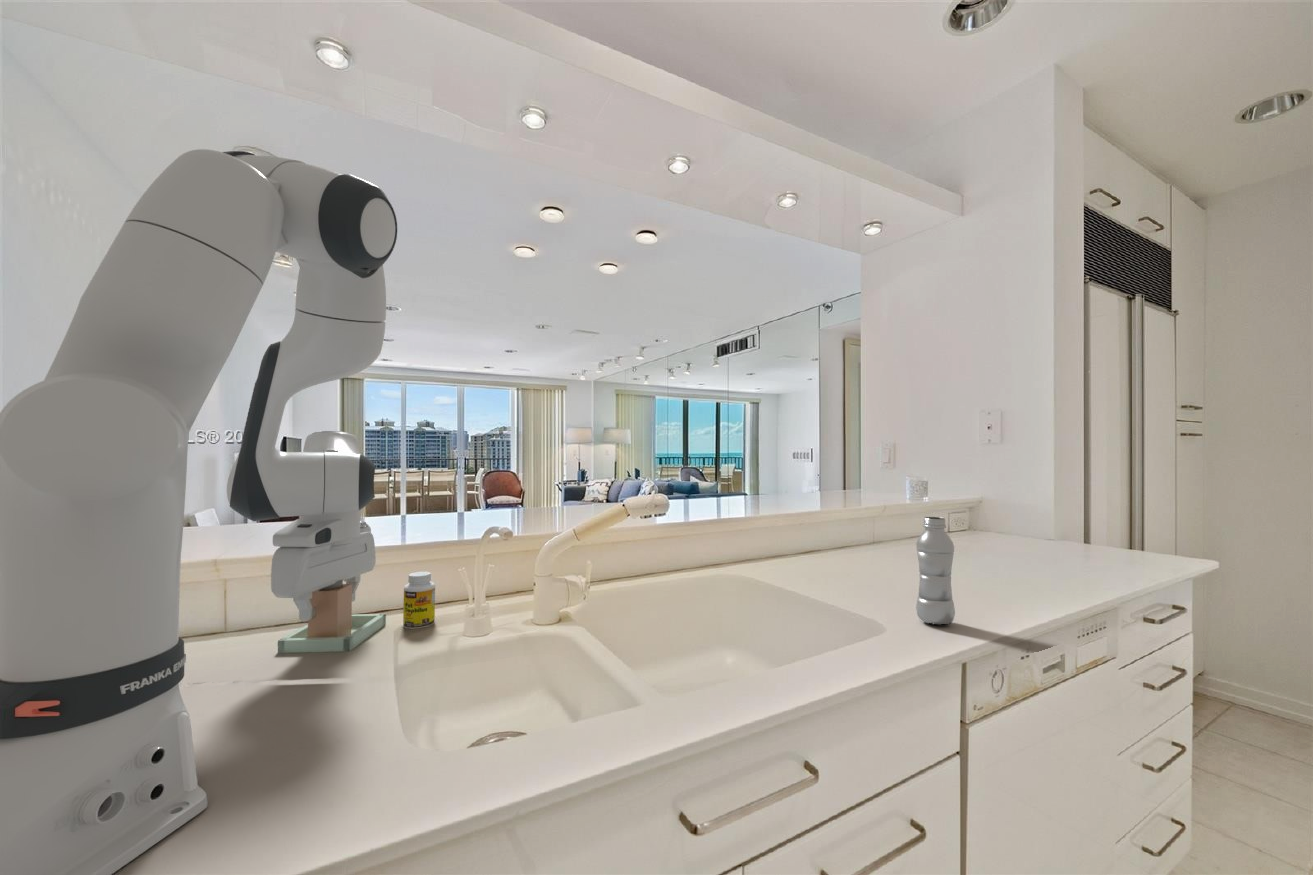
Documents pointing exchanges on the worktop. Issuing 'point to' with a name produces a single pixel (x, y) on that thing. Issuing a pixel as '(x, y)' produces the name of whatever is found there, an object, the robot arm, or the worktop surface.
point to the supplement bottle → (419, 601)
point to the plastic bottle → (935, 573)
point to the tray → (360, 631)
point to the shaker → (331, 611)
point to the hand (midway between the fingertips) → (328, 610)
